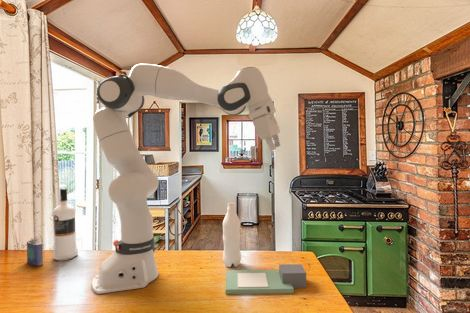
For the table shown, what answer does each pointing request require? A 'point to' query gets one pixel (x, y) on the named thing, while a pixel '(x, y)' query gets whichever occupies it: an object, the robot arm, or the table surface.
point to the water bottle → (231, 237)
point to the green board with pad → (266, 280)
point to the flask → (34, 253)
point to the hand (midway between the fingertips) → (276, 148)
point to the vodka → (64, 229)
